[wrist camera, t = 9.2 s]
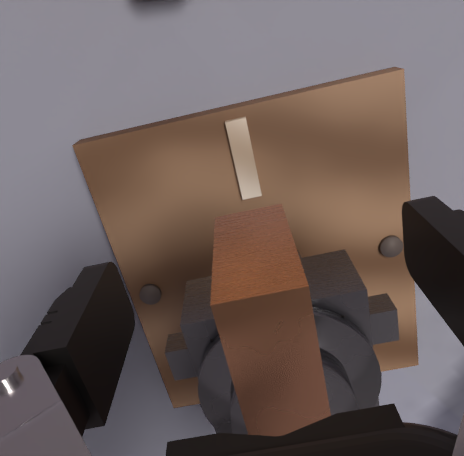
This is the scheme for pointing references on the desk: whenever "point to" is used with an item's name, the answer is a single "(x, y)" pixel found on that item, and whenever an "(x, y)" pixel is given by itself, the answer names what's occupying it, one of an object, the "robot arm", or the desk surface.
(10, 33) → the desk surface
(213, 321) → the lever handle
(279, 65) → the desk surface
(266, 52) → the desk surface
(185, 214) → the post base
